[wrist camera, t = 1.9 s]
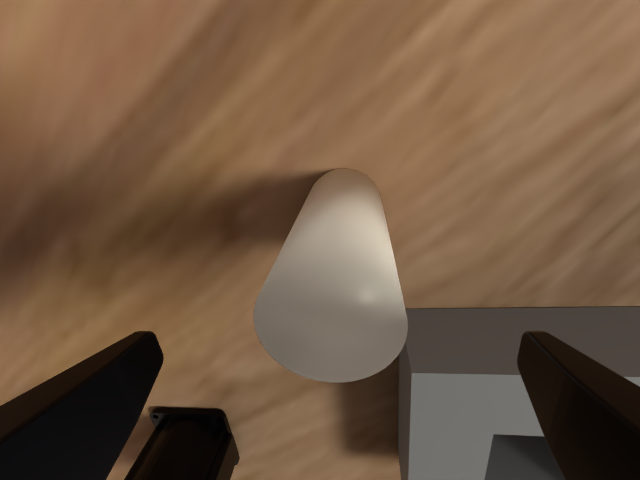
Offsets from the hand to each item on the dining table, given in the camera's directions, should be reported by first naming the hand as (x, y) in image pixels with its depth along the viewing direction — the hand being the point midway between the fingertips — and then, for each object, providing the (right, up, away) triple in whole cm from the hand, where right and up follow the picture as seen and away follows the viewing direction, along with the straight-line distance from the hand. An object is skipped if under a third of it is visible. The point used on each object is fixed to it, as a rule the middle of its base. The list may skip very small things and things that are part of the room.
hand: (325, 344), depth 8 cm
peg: (+1, +4, +9) cm, 11 cm away
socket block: (+12, -8, +14) cm, 20 cm away
